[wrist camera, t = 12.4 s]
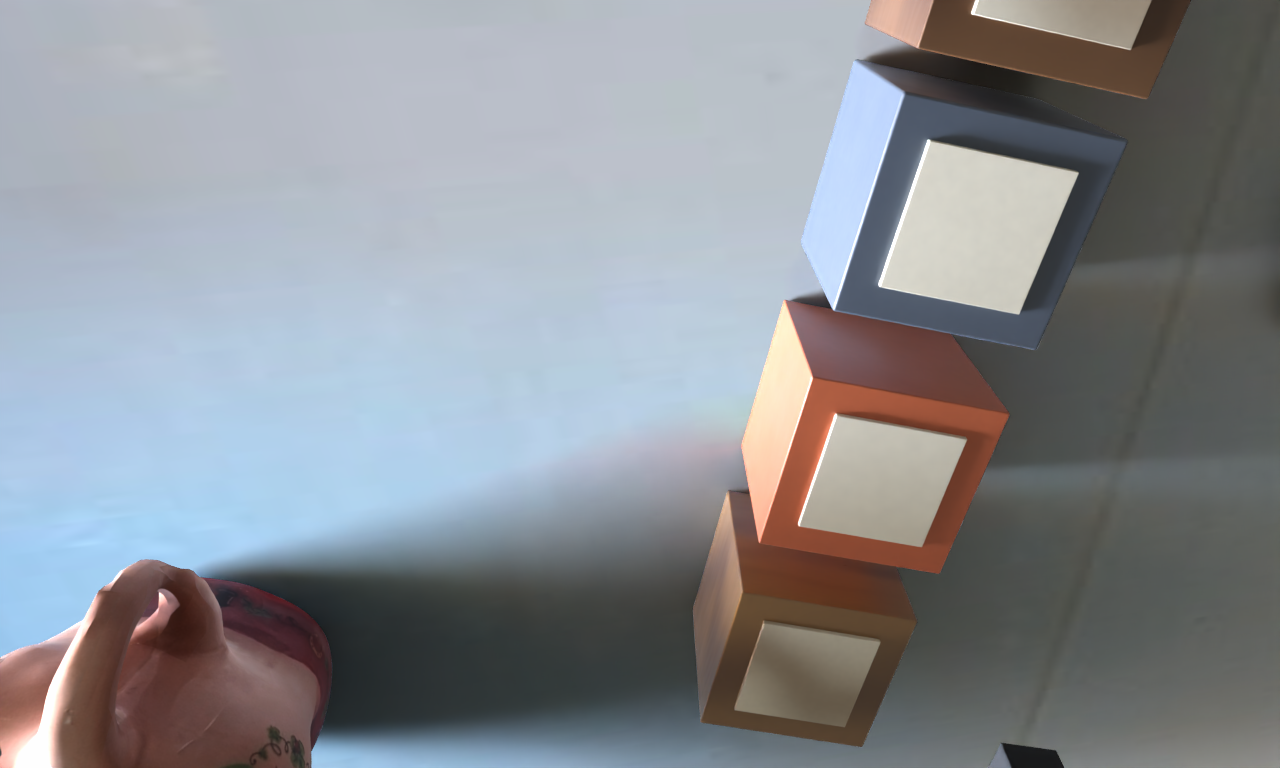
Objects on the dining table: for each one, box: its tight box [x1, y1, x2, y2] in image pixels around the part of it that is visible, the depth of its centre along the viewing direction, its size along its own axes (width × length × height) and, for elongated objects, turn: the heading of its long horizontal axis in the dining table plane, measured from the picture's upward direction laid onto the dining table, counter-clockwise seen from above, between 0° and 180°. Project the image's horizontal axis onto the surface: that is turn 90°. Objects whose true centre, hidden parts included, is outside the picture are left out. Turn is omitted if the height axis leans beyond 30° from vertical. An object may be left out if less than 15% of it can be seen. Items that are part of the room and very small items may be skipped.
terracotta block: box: [742, 300, 1010, 574], centre depth 30 cm, size 6×6×6 cm
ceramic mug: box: [0, 559, 332, 768], centre depth 32 cm, size 20×12×14 cm, turn 169°
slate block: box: [801, 60, 1128, 350], centre depth 27 cm, size 6×6×6 cm
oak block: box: [693, 491, 917, 747], centre depth 34 cm, size 6×6×6 cm
